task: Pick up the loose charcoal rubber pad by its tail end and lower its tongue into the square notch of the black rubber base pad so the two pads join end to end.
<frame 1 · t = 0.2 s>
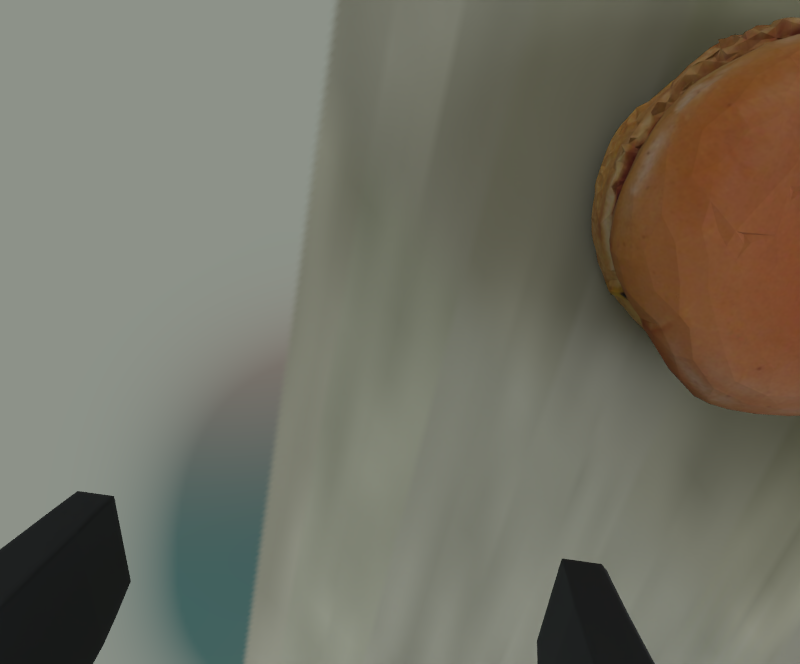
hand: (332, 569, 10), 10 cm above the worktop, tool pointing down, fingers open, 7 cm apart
burger: (766, 208, 18), on the worktop
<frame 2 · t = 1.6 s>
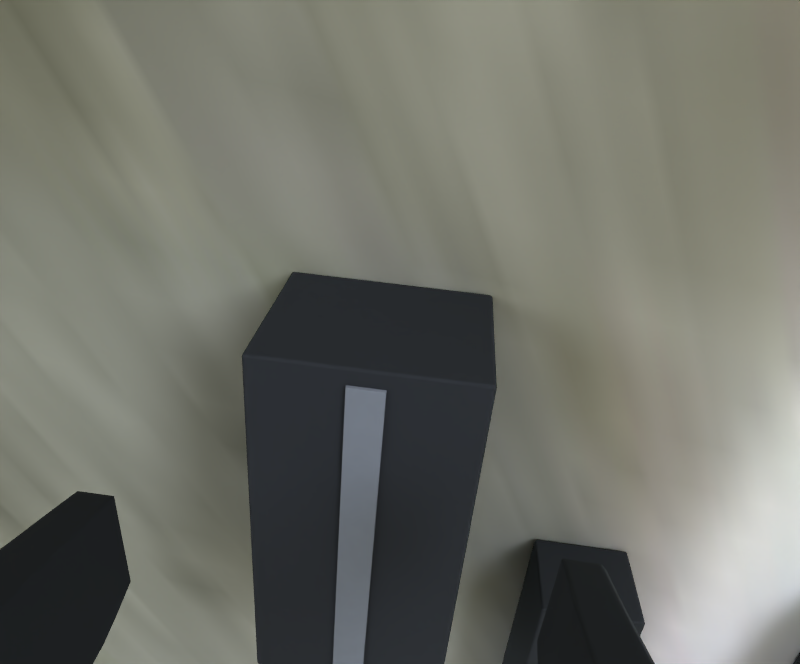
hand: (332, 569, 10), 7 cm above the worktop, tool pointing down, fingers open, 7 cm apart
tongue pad: (378, 440, 18), on the worktop
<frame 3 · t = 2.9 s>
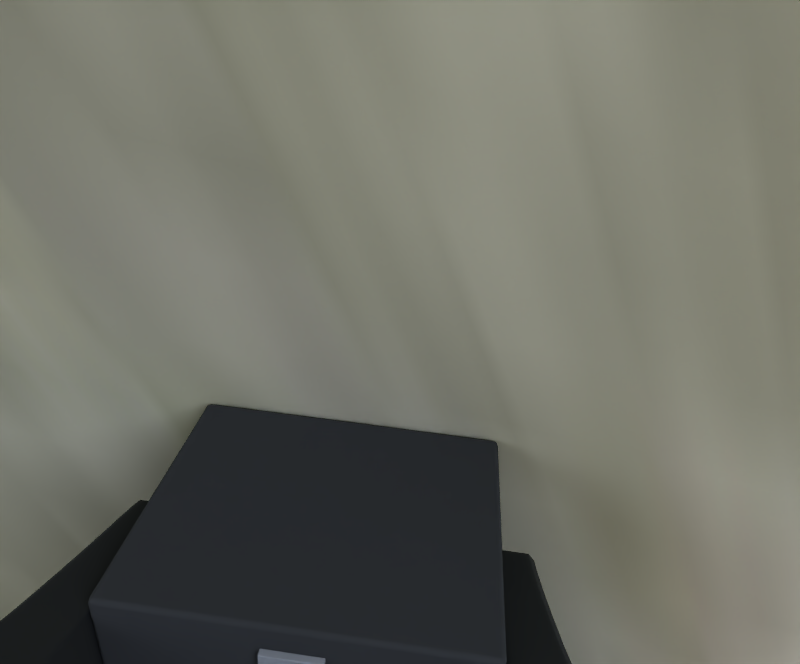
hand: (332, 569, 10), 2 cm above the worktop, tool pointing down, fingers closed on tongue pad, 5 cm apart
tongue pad: (341, 610, 13), on the worktop, touching gripper
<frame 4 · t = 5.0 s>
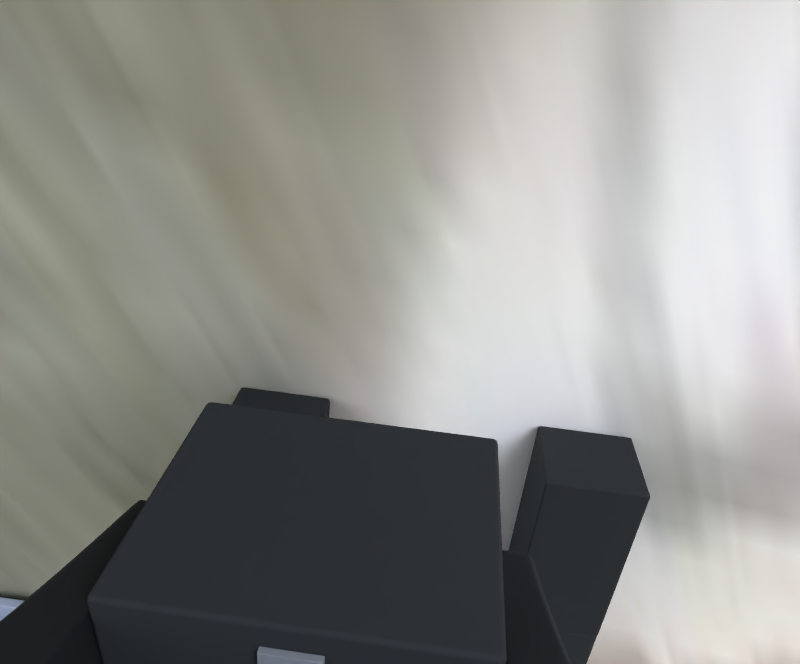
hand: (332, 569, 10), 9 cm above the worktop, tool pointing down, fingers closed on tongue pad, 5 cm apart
notch pad: (412, 566, 23), on the worktop
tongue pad: (341, 608, 13), point 7 cm above the worktop, touching gripper
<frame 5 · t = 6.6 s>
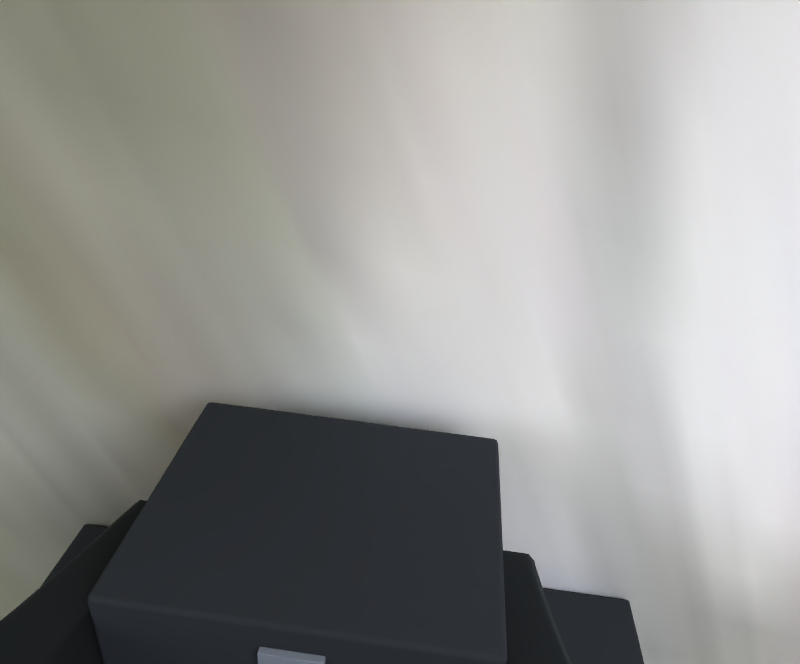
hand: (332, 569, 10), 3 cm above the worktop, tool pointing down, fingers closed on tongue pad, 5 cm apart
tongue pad: (341, 608, 13), point 1 cm above the worktop, touching gripper
when the fingers open (2 cm above the worktop, at t = 7.4 s): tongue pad stays where it is, on the worktop.
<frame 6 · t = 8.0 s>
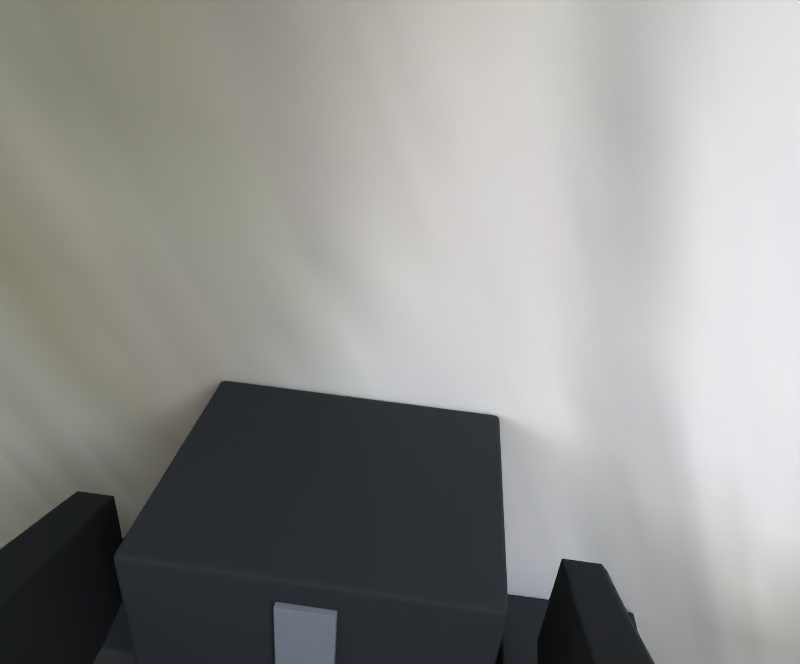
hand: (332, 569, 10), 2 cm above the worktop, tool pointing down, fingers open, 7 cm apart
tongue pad: (348, 584, 14), on the worktop
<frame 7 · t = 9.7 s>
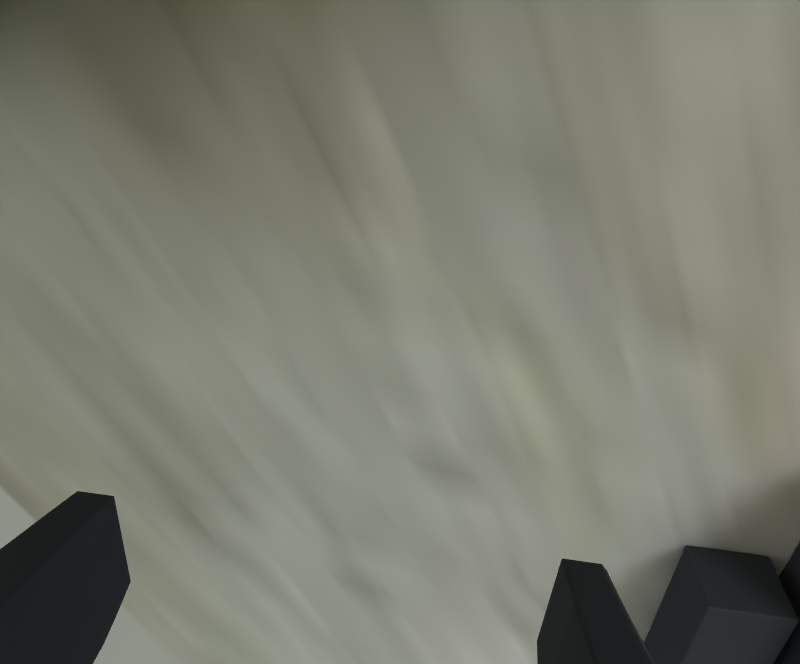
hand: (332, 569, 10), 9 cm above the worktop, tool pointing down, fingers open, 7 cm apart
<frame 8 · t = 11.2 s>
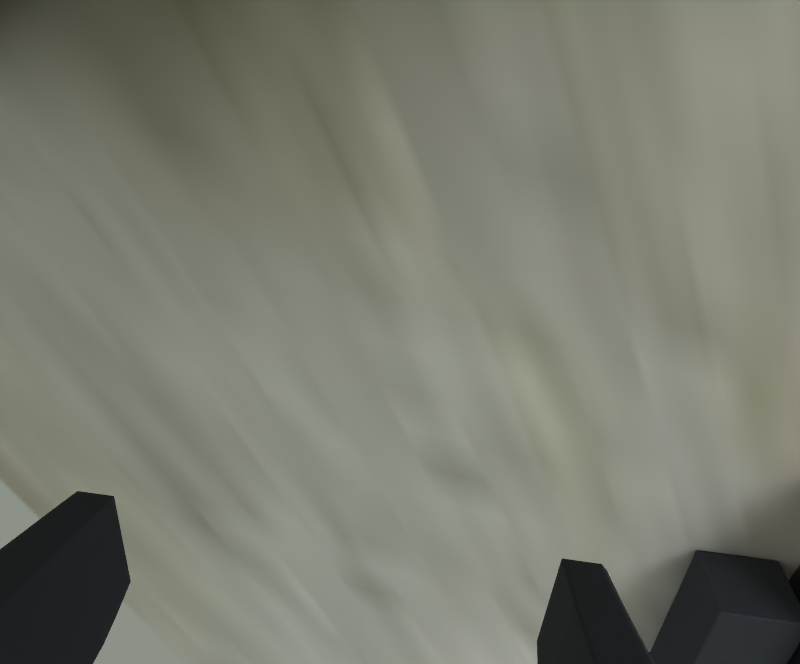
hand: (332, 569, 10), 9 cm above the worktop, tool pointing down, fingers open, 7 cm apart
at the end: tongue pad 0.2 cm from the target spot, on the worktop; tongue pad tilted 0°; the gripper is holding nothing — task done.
